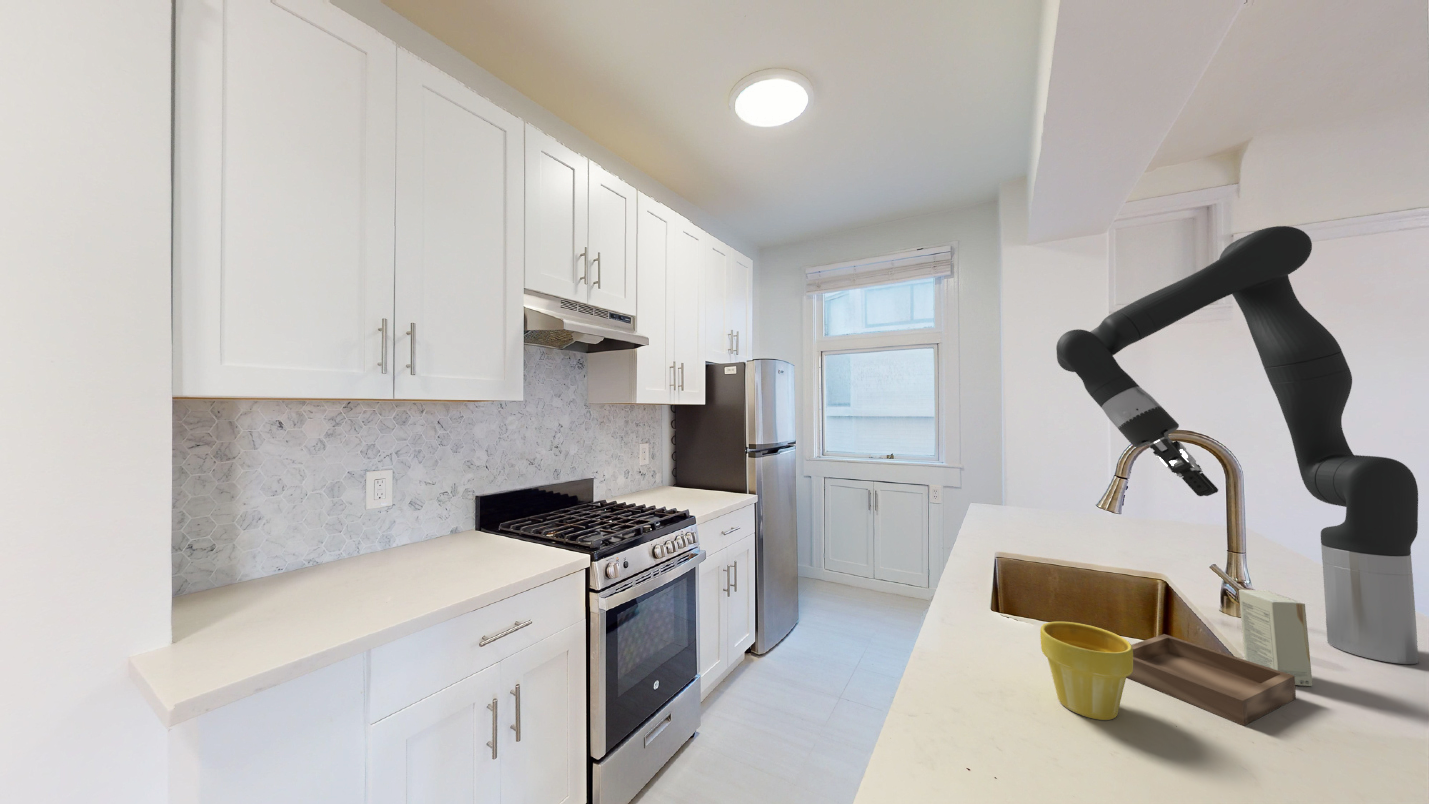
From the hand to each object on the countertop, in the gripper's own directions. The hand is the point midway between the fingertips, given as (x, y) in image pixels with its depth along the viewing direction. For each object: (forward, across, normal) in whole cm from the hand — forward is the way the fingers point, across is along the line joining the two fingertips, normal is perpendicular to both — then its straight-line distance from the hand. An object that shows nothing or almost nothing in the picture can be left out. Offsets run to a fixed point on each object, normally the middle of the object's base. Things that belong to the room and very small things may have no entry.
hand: (1209, 494), depth 83 cm
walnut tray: (+23, -12, +17) cm, 31 cm away
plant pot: (+19, -31, +26) cm, 45 cm away
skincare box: (+26, 0, +10) cm, 28 cm away
